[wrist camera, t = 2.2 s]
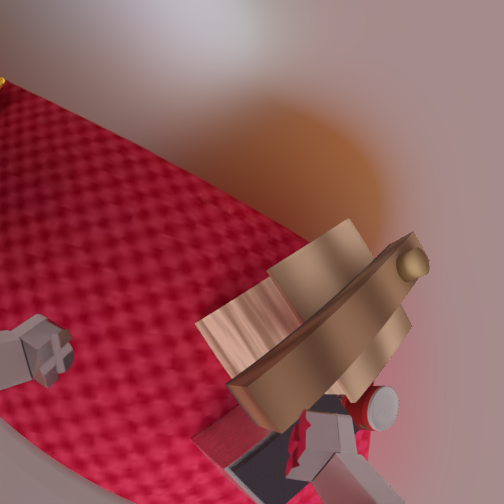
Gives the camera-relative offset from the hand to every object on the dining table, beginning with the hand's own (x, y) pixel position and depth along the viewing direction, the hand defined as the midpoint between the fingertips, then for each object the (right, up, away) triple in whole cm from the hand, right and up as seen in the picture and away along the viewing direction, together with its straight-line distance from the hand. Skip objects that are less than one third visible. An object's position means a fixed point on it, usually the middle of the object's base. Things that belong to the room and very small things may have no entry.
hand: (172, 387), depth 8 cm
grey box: (+2, -24, +32) cm, 40 cm away
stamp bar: (+10, -1, +14) cm, 17 cm away
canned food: (+20, -25, +40) cm, 51 cm away
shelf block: (+1, -10, +37) cm, 38 cm away
